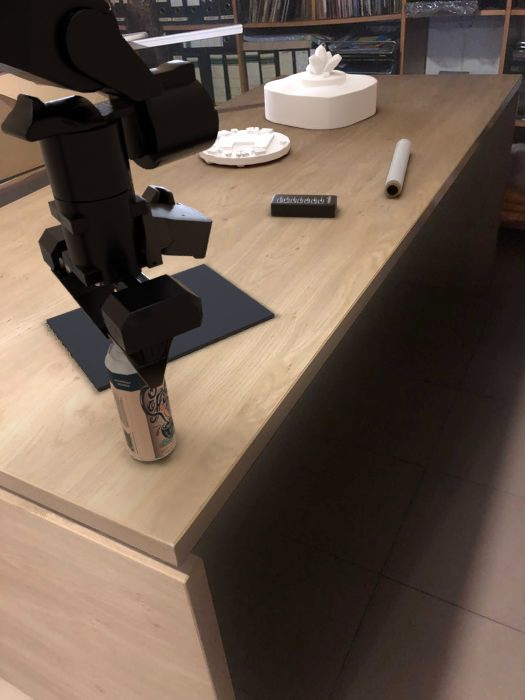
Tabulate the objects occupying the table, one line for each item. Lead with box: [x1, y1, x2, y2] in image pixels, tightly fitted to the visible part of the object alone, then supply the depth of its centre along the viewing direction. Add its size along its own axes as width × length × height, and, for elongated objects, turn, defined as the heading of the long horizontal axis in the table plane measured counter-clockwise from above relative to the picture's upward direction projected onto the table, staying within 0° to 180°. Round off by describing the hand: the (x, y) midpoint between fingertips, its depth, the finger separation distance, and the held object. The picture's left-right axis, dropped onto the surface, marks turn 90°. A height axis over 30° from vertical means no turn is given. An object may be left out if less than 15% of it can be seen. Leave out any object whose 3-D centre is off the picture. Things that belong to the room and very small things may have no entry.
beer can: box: [105, 343, 177, 462], centre depth 55 cm, size 5×5×12 cm
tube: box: [384, 138, 412, 198], centre depth 114 cm, size 3×3×25 cm
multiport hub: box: [270, 193, 338, 219], centre depth 102 cm, size 4×11×2 cm, turn 79°
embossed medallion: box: [198, 126, 291, 168], centre depth 130 cm, size 20×20×3 cm
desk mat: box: [45, 263, 275, 392], centre depth 77 cm, size 24×18×1 cm
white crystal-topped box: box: [263, 44, 378, 131], centre depth 149 cm, size 25×25×16 cm
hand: (132, 360), depth 52 cm, fingers open, 9 cm apart
